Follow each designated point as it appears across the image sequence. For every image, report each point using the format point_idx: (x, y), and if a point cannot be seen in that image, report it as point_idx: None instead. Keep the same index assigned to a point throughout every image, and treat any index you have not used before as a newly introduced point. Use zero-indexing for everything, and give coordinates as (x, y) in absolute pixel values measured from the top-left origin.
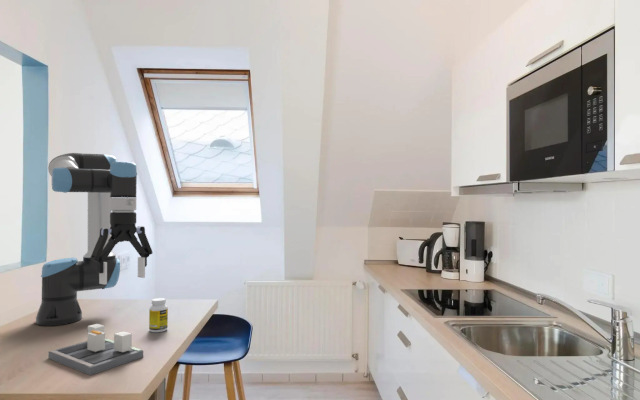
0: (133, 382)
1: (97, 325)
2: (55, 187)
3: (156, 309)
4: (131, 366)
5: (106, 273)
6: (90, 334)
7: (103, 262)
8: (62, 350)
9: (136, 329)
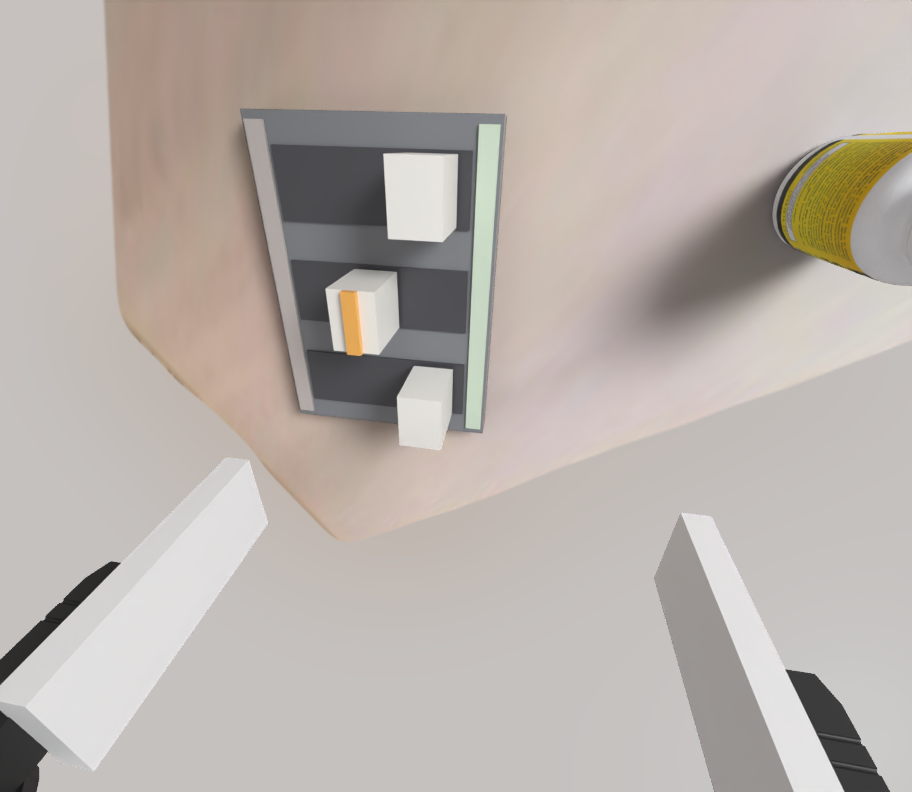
0: (362, 510)
1: (422, 199)
2: None
3: (862, 257)
4: None
5: (199, 613)
6: (329, 314)
7: (47, 750)
8: (286, 165)
9: (817, 34)
